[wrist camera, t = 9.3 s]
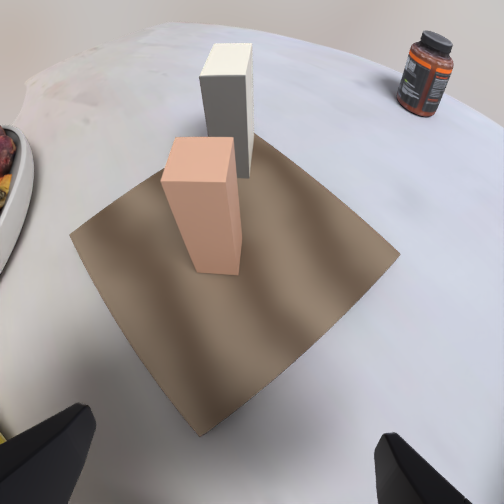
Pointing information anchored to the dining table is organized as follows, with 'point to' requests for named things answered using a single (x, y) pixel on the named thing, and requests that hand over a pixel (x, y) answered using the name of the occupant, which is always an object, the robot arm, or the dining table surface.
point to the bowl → (13, 187)
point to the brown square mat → (231, 284)
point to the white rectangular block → (230, 99)
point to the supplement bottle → (426, 74)
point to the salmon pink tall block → (206, 201)
